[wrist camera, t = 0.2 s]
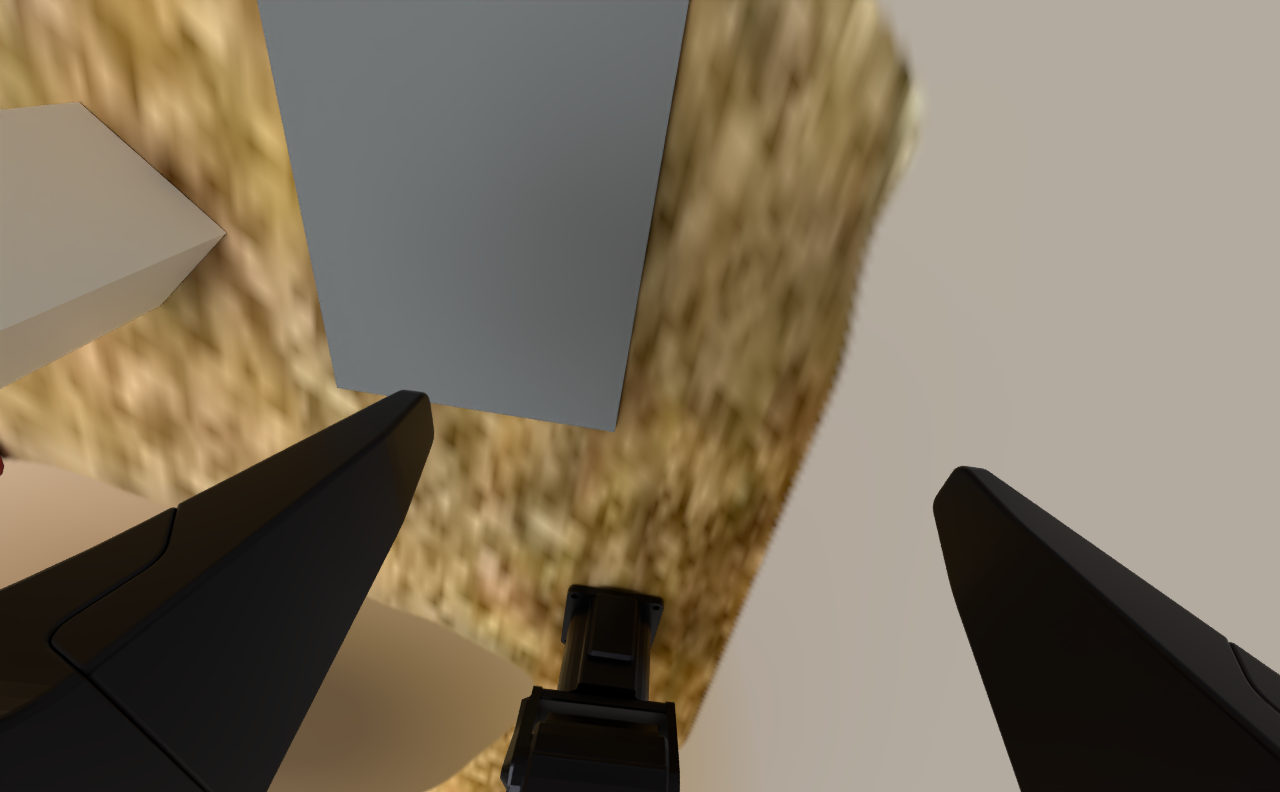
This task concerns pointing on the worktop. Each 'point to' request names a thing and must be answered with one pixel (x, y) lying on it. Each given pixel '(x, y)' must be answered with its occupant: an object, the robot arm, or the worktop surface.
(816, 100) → the worktop surface
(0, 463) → the smoothie
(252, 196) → the worktop surface
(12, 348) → the white rectangular block
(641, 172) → the mat
